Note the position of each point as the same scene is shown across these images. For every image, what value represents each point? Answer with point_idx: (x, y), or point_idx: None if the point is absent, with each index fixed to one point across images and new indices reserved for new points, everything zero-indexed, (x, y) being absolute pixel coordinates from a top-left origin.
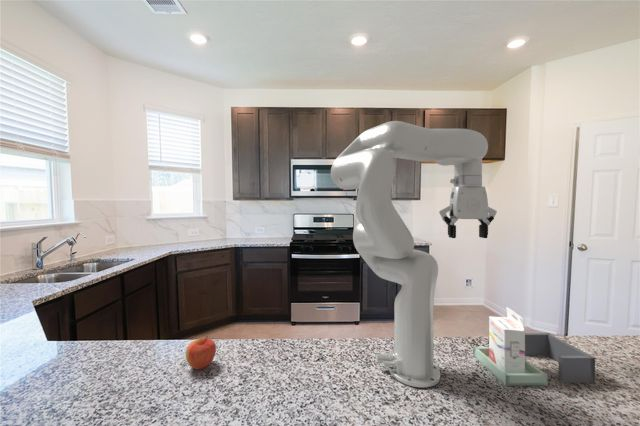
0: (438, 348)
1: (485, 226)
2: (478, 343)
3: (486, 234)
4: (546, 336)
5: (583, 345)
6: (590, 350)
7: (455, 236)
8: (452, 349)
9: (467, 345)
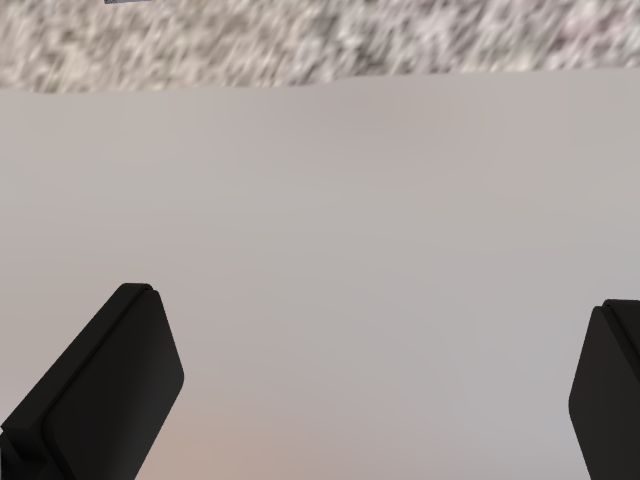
0: (536, 13)
1: (50, 413)
2: (350, 62)
3: (114, 310)
4: None
5: (8, 62)
6: (3, 27)
7: (618, 309)
8: (481, 7)
9: (402, 44)
